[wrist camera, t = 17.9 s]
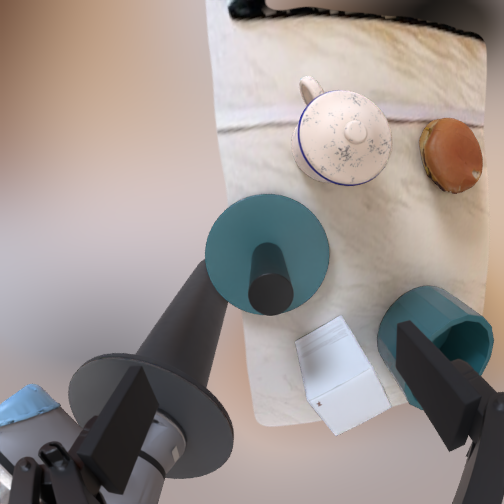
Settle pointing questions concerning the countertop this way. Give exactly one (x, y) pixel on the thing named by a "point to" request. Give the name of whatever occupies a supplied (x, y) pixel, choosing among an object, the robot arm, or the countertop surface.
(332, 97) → the teacup with lid
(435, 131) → the burger
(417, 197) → the countertop surface
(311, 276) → the tin lid
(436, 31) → the countertop surface
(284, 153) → the countertop surface
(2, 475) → the robot arm
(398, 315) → the tin
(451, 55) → the countertop surface
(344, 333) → the white packaging box
